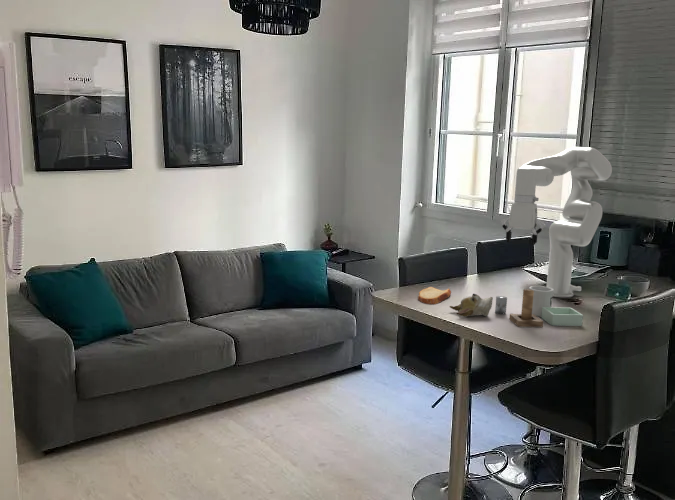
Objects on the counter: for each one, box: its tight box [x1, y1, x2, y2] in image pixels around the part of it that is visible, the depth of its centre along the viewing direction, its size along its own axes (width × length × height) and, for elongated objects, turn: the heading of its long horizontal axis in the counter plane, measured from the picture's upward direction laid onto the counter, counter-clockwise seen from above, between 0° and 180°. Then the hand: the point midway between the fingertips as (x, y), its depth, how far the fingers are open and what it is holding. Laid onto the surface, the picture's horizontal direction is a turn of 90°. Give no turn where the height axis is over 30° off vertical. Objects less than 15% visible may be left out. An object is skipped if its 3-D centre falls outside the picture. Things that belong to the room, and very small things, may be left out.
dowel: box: [520, 288, 534, 320], centre depth 235 cm, size 4×4×12 cm
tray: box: [540, 306, 584, 327], centre depth 239 cm, size 11×10×4 cm
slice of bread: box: [417, 286, 452, 305], centre depth 268 cm, size 18×18×4 cm
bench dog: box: [494, 295, 508, 315], centre depth 248 cm, size 4×4×6 cm
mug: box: [528, 285, 554, 318], centre depth 250 cm, size 12×9×10 cm
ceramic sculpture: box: [449, 293, 493, 317], centre depth 243 cm, size 11×9×15 cm
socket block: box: [509, 313, 544, 328], centre depth 236 cm, size 9×9×2 cm
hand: (520, 243), depth 258 cm, fingers open, 9 cm apart
